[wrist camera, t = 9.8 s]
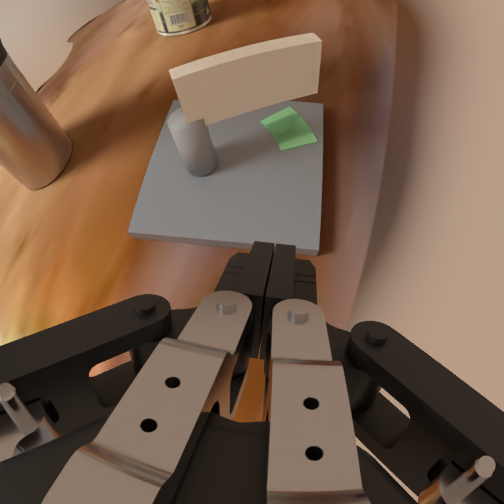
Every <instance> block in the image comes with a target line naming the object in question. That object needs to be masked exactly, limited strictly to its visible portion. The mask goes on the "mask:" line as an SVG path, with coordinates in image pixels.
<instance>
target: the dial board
mask: <svg viewBox="0 0 504 504" xmlns="http://www.w3.org/2000/svg"><path fill="white" fill-rule="evenodd" d="M179 108H181V104H180V102H179V100H173V102H172V105H171V107H170V109H169V112H168V114H167V117H166V119H165V122H164V125H163V127H162V130H161V132H160V135H159V138H158V140H157V143H156V146H155V149H154V151H153V154H152V157H151V160H150V163H149V166H148V168H147V171H146V174H145V177H144V180H143V183H142V186H141V190H140V193H139V196H138V199H137V202H136V206H135V209H134V212H133V216H132V219H131V222H130V226H129V230H128V233H129V234H130V235H131V236H132V237H133V238H137V239H147V240H158V241H168V242H178V243H189V244H199V245H209V246H220V247H230V248H240V249H250V250H251V249H252V246H253V244H254V241H260V242H269V243H275V245H274V251H275V246H276V243H278V244H287V245H296V254H301V255H311V256H317V255H318V252H319V242H320V224H321V202H322V173H323V104H319V103H309V102H297V101H284V102H281V103H277V104H273V105H270V106H266V107H263V108H259V109H256V110H253V111H250V112H246V113H243V114H240V115H237V116H234V117H231V118H228V119H225V120H222V121H219V122H216V123H213V124H210V125H207V126H208V130H209V133H210V137H211V140H212V144H213V147H214V151H215V154H216V158H217V165H216V167H215V169H214V170H213V171H212V172H211V173H209V174H207V175H204V176H194V175H191V174H190V173H189V172H188V171H187V169H186V167H185V164H184V162H183V160H182V157H181V155H180V153H179V150H178V148H177V146H176V143H175V141H174V139H173V136H172V134H171V132H170V129H169V127H168V124H167V121H168V118H169V116H170V115H171V114H172V113H173V112H174V111H175V110H177V109H179Z"/></svg>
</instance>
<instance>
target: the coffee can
mask: <svg viewBox="0 0 504 504" xmlns="http://www.w3.org/2000/svg"><path fill="white" fill-rule="evenodd" d="M147 2H148V5H149V8H150V11H151V13H152V17H153V19H154V22H155V25H156V28H157V32H158V33H159V34H160V35H163V36H178V35H183V34H187V33H191V32H193V31H196V30H198V29H200V28H202V27H204V26H205V25H207V24H208V23H209V22H210V21H211V18H212V16H211V14H210V9H209V4H208V0H147Z"/></svg>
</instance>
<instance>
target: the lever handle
mask: <svg viewBox="0 0 504 504" xmlns="http://www.w3.org/2000/svg"><path fill="white" fill-rule="evenodd" d="M321 49H322V40H320V39H319V38H318V37H317V36H316V35H315V34H314V33H308V34H302V35H296V36H290V37H285V38H280V39H275V40H270V41H266V42H261V43H257V44H253V45H248V46H244V47H240V48H237V49H233V50H229V51H226V52H222V53H219V54H215V55H212V56H208V57H205V58H202V59H199V60H196V61H193V62H190V63H187V64H184V65H181V66H178V67H175V68H172V69H170V70H169V73H170V76H171V79H172V81H173V84H174V87H175V90H176V93H177V96H178V99H179V102H180V104H181V108H179V109H177V110H175V111H174V112H173V113H172V114H171V115H170V116H169V118H168V121H167V124H168V127H169V129H170V132H171V134H172V136H173V139H174V141H175V143H176V146H177V148H178V150H179V153H180V155H181V157H182V160H183V162H184V164H185V167H186V169H187V171H188V172H189V173H190V174H191V175H194V176H204V175H207V174H209V173H211V172H212V171H213V170H214V169H215V167H216V165H217V158H216V154H215V151H214V147H213V144H212V140H211V137H210V133H209V130H208V126H207V125H210V124H213V123H216V122H219V121H222V120H225V119H228V118H231V117H234V116H237V115H240V114H243V113H246V112H250V111H253V110H256V109H259V108H263V107H266V106H270V105H273V104H277V103H281V102H284V101H288V100H292V99H296V98H299V97H303V96H307V95H312V94H316V93H318V83H319V72H320V61H321Z"/></svg>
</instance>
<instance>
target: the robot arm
mask: <svg viewBox="0 0 504 504" xmlns="http://www.w3.org/2000/svg"><path fill="white" fill-rule="evenodd" d="M71 152H72V142H71V139H70V138H69V137H68V135H67V134H66V133H65V132H64V130H63V129H62V128H61V126H60V125H59V124H58V122H57V121H56V120H55V118H54V117H53V116H52V114H51V113H50V112H49V110H48V109H47V108H46V106H45V105H44V104H43V102H42V101H41V99H40V98H39V97H38V95H37V94H36V93H35V91H34V90H33V88H32V87H31V86H30V84H29V83H28V82H27V80H26V79H25V77H24V76H23V74H22V73H21V72H20V70H19V69H18V67H17V66H16V64H15V63H14V62H13V60H12V59H11V57H10V56H9V54H8V53H7V51H6V50H5V48H4V47H3V45H2V43H1V39H0V164H1V165H2V166H3V167H4V168H5V169H6V170H7V171H8V172H9V173H10V174H12V175H13V176H14V177H15V178H16V179H17V180H18V181H20V182H21V183H22V184H23V185H24V186H25V187H27V188H28V189H31V190H36V189H40V188H42V187H44V186H46V185H48V184H49V183H50V182H52V181H53V180H54V179H55V178H56V177H57V176H58V175H59V174H60V173H61V172H62V170H63V169H64V167H65V166H66V164H67V162H68V160H69V158H70V156H71ZM274 245H275V243H269V242H260V241H254V244H253V246H252V249H251V252H250V254H249V253H240V252H238V253H237V254H235V255H234V256H232V257H231V258H230V259H229V261H228V263H227V265H226V267H225V269H224V272H223V274H222V276H221V278H220V280H219V282H218V285H217V287H216V289H215V291H214V292H213V293H211V294H209V295H207V296H206V297H204V298H203V300H202V301H201V303H200V304H199V306H198V307H195V308H191V309H177V310H171V307H170V303H169V302H168V301H167V300H166V299H165V298H163V297H161V296H158V295H153V294H144V295H138V296H135V297H132V298H129V299H127V300H124V301H121V302H118V303H116V304H113V305H110V306H108V307H105V308H102V309H100V310H97V311H94V312H91V313H89V314H86V315H83V316H81V317H78V318H75V319H72V320H70V321H67V322H64V323H62V324H59V325H56V326H53V327H51V328H48V329H45V330H43V331H40V332H37V333H34V334H32V335H29V336H26V337H24V338H21V339H18V340H15V341H13V342H10V343H7V344H5V345H2V346H0V504H504V412H503V411H501V410H500V409H499V408H497V407H496V406H495V405H494V404H493V403H491V402H490V401H489V400H487V399H486V398H485V397H483V396H482V395H481V394H479V393H478V392H477V391H475V390H474V389H473V388H472V387H470V386H469V385H468V384H466V383H465V382H464V381H462V380H461V379H460V378H458V377H457V376H456V375H455V374H453V373H452V372H451V371H449V370H448V369H447V368H445V367H444V366H442V365H441V364H440V363H439V362H437V361H436V360H435V359H433V358H432V357H431V356H429V355H428V354H427V353H425V352H424V351H423V350H421V349H420V348H419V347H417V346H416V345H414V344H413V343H412V342H410V341H409V340H408V339H406V338H405V337H404V336H402V335H401V334H400V333H398V332H397V331H396V330H394V329H392V328H391V327H390V326H388V325H386V324H383V323H380V322H376V321H364V322H360V323H358V324H356V325H355V326H354V327H353V328H352V330H351V332H348V331H345V330H342V329H338V328H336V327H333V326H331V325H329V324H328V323H326V322H325V317H324V313H323V311H322V309H321V308H320V307H318V306H317V289H316V270H315V267H314V266H313V264H312V263H311V262H310V261H309V260H302V259H295V255H296V245H287V244H278V243H276V246H275V251H274ZM261 338H262V339H261ZM260 343H261V350H260V359H264V360H265V362H264V373H265V382H264V399H263V414H262V422H246V423H240V422H235V421H233V418H234V415H235V412H236V409H237V406H238V404H239V401H240V398H241V395H242V392H243V389H244V386H245V383H246V380H247V376H248V363H249V359H250V358H258V353H259V348H260ZM127 351H129V353H130V357H131V361H129V362H127V363H124V364H122V365H120V366H117V367H115V368H113V369H111V370H108V371H106V372H104V373H101V374H99V375H97V376H94V377H89V372H90V370H91V369H92V368H93V367H94V366H95V365H97V364H99V363H101V362H103V361H106V360H108V359H111V358H113V357H115V356H118V355H120V354H122V353H125V352H127ZM381 387H382V388H383V389H384V390H385V391H387V392H388V393H389V394H390V395H391V396H392V397H394V398H395V399H396V400H397V401H398V402H399V403H401V404H402V405H403V406H404V407H405V408H406V409H407V410H408V412H409V415H410V419H409V418H408V417H407V416H406V415H405V414H403V413H402V412H401V411H400V410H399V409H398V408H397V407H395V406H394V405H393V404H392V403H391V402H390V401H389V400H388V399H386V398H385V397H384V396H383V395H382V394H381V393H380V392H379V391H380V389H381ZM355 436H356V437H357V438H358V439H359V440H360V441H361V442H362V443H363V444H364V445H365V446H366V447H367V448H368V449H369V450H370V451H371V452H372V453H373V454H374V455H375V456H376V457H377V458H378V459H379V460H380V461H381V462H382V463H383V464H384V465H385V466H386V467H387V468H388V469H389V470H390V471H391V472H393V474H395V475H396V476H397V477H398V478H399V479H400V480H401V481H402V482H403V483H404V484H405V485H406V486H407V487H408V488H409V489H410V490H412V491H413V492H414V493H415V494H416V495H417V496H418V497H419V498H418V503H417V502H416V501H415V500H414V499H413V498H412V497H411V496H410V495H409V494H408V493H407V492H406V491H405V490H404V489H403V488H402V487H401V486H400V485H399V484H398V482H396V481H395V480H394V478H392V476H391V475H390V474H389V473H388V472H387V471H386V470H385V469H384V468H383V467H382V466H381V465H380V464H379V463H378V462H377V461H376V460H375V459H374V458H373V457H372V456H371V455H370V454H369V453H367V452H366V451H365V450H363V449H362V448H360V447H359V446H357V445H356V440H355Z"/></svg>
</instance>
